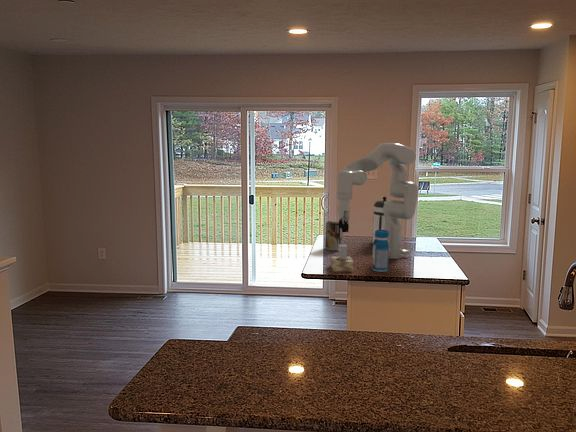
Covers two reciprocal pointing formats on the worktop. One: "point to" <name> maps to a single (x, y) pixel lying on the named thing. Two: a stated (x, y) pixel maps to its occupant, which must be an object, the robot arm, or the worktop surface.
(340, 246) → the peg
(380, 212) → the coffee press
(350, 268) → the socket block
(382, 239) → the beverage bottle
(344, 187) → the robot arm
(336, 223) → the coffee box
